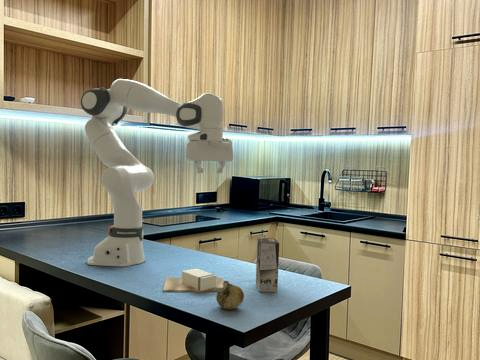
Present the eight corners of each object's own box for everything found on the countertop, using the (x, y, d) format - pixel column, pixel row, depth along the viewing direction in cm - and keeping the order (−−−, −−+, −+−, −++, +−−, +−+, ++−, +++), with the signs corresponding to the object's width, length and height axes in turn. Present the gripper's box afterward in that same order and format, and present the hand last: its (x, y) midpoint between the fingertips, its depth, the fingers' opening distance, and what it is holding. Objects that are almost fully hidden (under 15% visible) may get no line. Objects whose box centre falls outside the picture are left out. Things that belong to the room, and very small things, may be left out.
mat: (162, 291, 136) (162, 289, 136) (165, 279, 150) (165, 277, 150) (225, 291, 138) (225, 289, 138) (222, 279, 152) (222, 277, 152)
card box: (182, 270, 144) (201, 278, 136) (196, 268, 148) (216, 275, 140) (181, 282, 144) (201, 290, 136) (196, 279, 148) (216, 287, 140)
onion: (241, 313, 119) (241, 285, 118) (212, 311, 120) (213, 283, 120) (245, 304, 126) (246, 278, 126) (218, 302, 128) (219, 276, 127)
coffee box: (278, 292, 139) (279, 243, 139) (258, 292, 139) (260, 242, 138) (273, 283, 149) (275, 237, 148) (255, 283, 148) (256, 237, 147)
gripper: (226, 138, 172) (225, 172, 173) (184, 135, 159) (183, 172, 159) (237, 138, 167) (236, 173, 168) (194, 135, 154) (193, 173, 155)
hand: (210, 173), depth 164 cm, fingers open, 8 cm apart
